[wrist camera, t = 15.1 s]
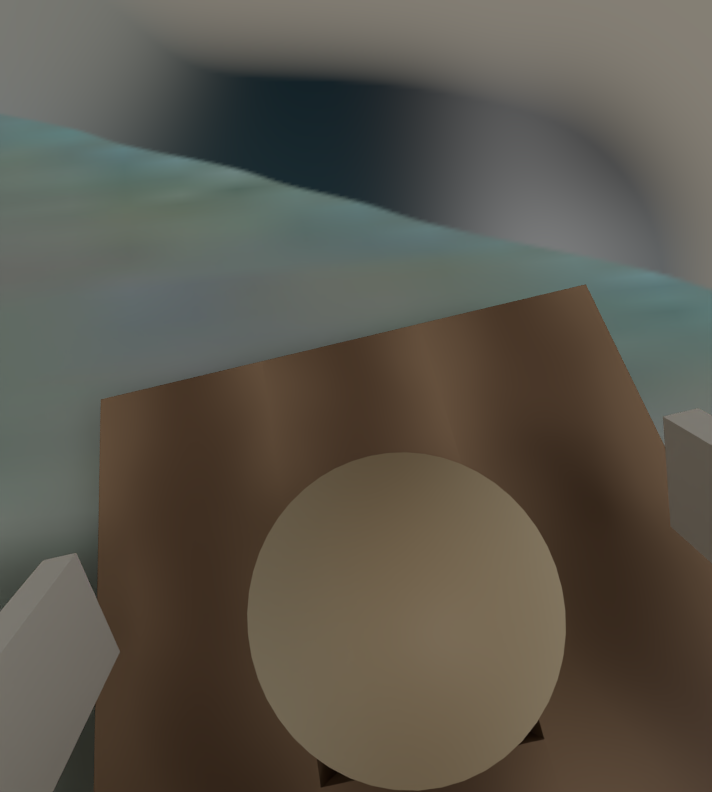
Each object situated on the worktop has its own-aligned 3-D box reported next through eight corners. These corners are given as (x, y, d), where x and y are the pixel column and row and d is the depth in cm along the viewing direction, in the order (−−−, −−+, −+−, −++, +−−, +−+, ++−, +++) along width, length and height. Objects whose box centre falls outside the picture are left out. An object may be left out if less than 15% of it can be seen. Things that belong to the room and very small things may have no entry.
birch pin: (379, 725, 17) (266, 825, 6) (356, 602, 19) (233, 487, 7) (495, 700, 17) (619, 749, 6) (462, 579, 19) (506, 424, 7)
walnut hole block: (184, 1107, 14) (84, 1276, 10) (160, 449, 22) (100, 399, 18) (824, 978, 14) (982, 1100, 10) (559, 356, 22) (586, 284, 18)
